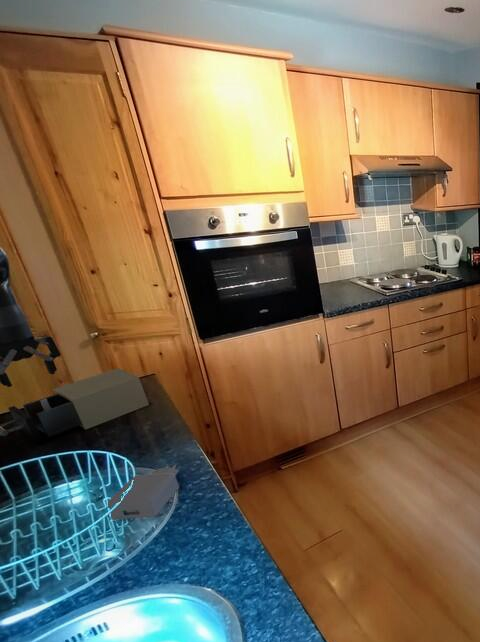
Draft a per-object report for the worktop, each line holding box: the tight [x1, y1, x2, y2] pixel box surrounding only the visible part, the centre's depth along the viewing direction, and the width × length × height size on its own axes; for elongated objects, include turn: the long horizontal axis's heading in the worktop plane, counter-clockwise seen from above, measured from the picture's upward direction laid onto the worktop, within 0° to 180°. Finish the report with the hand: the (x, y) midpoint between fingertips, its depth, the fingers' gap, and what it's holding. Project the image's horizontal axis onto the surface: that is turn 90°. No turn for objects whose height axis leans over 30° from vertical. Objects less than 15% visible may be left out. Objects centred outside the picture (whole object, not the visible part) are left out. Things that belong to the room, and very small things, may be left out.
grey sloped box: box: [52, 368, 150, 430], centre depth 134 cm, size 16×13×10 cm
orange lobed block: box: [39, 398, 51, 411], centre depth 124 cm, size 8×4×3 cm
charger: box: [104, 464, 180, 521], centre depth 102 cm, size 5×9×15 cm
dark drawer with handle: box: [0, 393, 82, 445], centre depth 124 cm, size 19×12×8 cm, turn 151°
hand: (31, 379), depth 120 cm, fingers open, 8 cm apart
